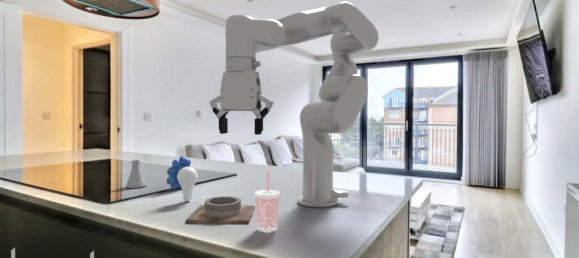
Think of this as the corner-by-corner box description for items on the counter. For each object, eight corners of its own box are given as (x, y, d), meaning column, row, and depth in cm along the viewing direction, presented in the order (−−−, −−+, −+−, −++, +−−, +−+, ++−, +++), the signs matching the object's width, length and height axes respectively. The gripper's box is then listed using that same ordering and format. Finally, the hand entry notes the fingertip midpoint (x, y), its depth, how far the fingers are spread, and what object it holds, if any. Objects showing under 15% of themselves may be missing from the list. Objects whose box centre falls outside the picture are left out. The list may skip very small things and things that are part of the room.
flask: (127, 185, 131) (126, 159, 130) (147, 184, 133) (147, 158, 132) (123, 189, 124) (123, 162, 123) (145, 188, 126) (145, 161, 125)
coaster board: (254, 208, 100) (254, 194, 100) (248, 223, 86) (248, 207, 86) (200, 207, 100) (200, 194, 100) (185, 222, 86) (185, 207, 86)
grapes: (183, 184, 132) (183, 154, 131) (196, 186, 129) (196, 155, 128) (158, 190, 122) (158, 157, 121) (172, 193, 118) (171, 158, 118)
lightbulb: (191, 204, 103) (191, 168, 103) (173, 203, 105) (173, 168, 104) (201, 199, 109) (200, 165, 109) (183, 198, 111) (183, 165, 110)
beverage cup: (249, 230, 81) (249, 172, 80) (265, 223, 86) (265, 168, 86) (269, 235, 78) (270, 174, 77) (285, 228, 83) (285, 171, 82)
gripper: (277, 67, 87) (277, 133, 88) (217, 69, 92) (217, 132, 93) (267, 63, 80) (267, 135, 81) (202, 65, 85) (203, 134, 86)
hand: (240, 133), depth 87 cm, fingers open, 9 cm apart
